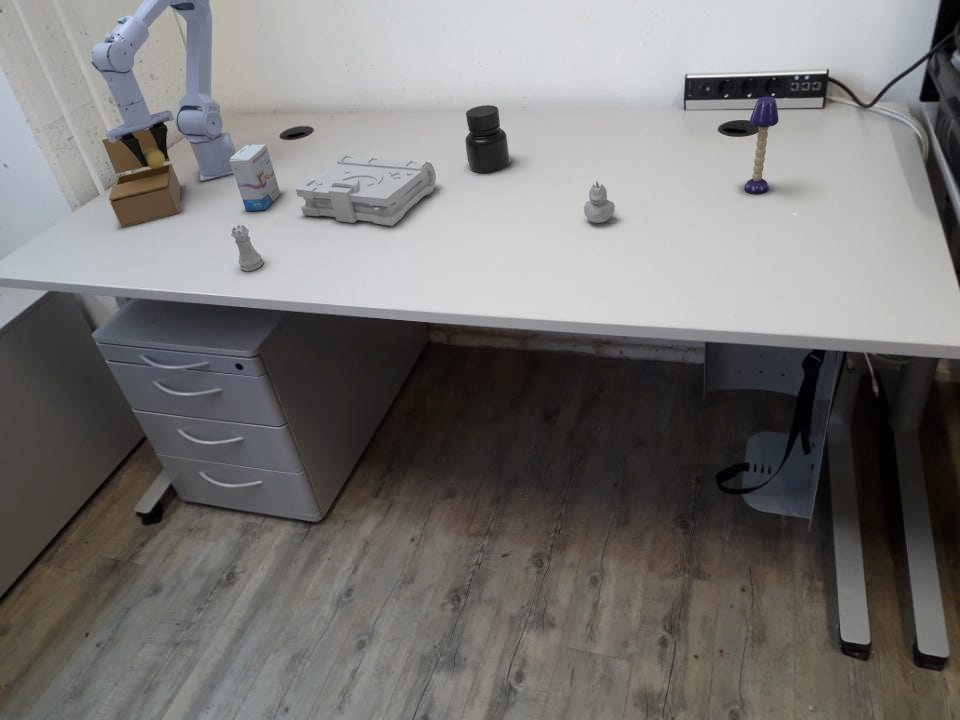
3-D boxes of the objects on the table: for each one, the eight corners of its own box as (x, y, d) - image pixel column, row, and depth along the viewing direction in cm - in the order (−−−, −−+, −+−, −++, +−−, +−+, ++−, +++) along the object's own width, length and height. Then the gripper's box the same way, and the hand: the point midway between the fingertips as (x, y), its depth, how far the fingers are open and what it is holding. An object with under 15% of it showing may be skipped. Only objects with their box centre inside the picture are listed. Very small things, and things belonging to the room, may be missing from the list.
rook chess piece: (242, 262, 144) (228, 224, 139) (265, 258, 144) (252, 220, 139) (238, 273, 140) (224, 235, 136) (262, 269, 140) (248, 231, 136)
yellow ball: (171, 166, 169) (163, 146, 166) (152, 173, 167) (144, 154, 164) (163, 162, 172) (155, 142, 169) (144, 169, 170) (135, 150, 167)
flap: (115, 173, 174) (116, 173, 175) (170, 160, 176) (170, 160, 176) (101, 139, 171) (102, 139, 171) (157, 126, 173) (157, 126, 173)
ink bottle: (500, 153, 169) (493, 99, 162) (518, 164, 162) (512, 109, 155) (461, 165, 166) (452, 112, 159) (478, 178, 160) (469, 122, 152)
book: (336, 177, 171) (328, 145, 167) (441, 187, 158) (435, 152, 154) (282, 216, 158) (271, 182, 154) (391, 230, 146) (383, 194, 141)
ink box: (266, 211, 162) (248, 158, 155) (245, 211, 163) (226, 160, 156) (282, 193, 168) (265, 142, 161) (262, 194, 170) (244, 143, 162)
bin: (127, 200, 178) (115, 173, 174) (181, 187, 180) (170, 160, 176) (121, 227, 166) (108, 199, 162) (179, 213, 168) (167, 184, 164)
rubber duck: (581, 227, 136) (578, 186, 131) (589, 210, 141) (587, 170, 136) (610, 228, 134) (609, 186, 129) (618, 211, 139) (617, 170, 134)
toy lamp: (773, 184, 138) (782, 94, 128) (769, 196, 135) (778, 104, 125) (746, 183, 140) (752, 94, 130) (741, 194, 137) (748, 103, 127)
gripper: (154, 88, 167) (177, 147, 175) (90, 110, 160) (118, 170, 168) (167, 92, 162) (190, 152, 170) (102, 115, 155) (130, 176, 163)
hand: (155, 161), depth 169 cm, fingers closed on yellow ball, 4 cm apart
